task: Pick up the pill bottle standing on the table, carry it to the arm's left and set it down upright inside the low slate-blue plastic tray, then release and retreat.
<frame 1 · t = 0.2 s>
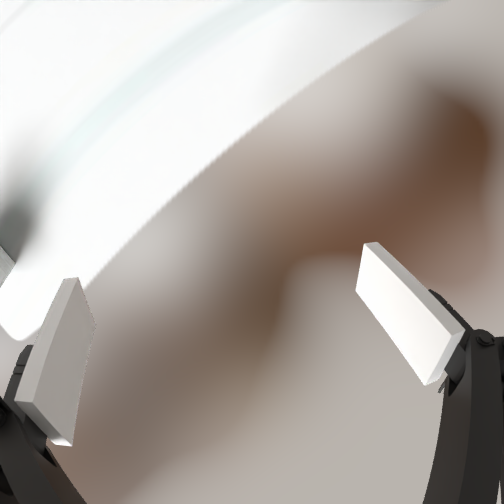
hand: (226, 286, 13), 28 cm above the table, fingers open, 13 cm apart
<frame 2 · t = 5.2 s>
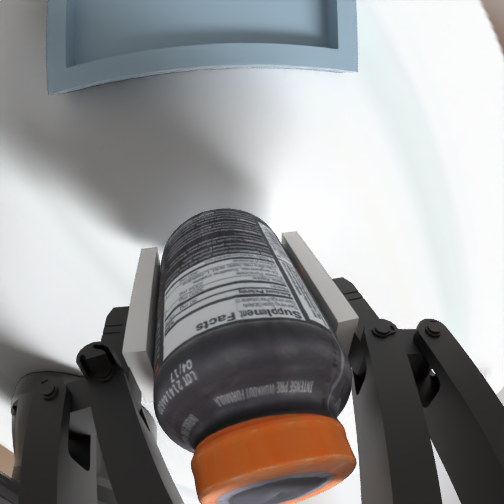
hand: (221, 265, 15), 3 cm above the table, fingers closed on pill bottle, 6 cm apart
pill bottle: (221, 259, 15), point 2 cm above the table, touching gripper
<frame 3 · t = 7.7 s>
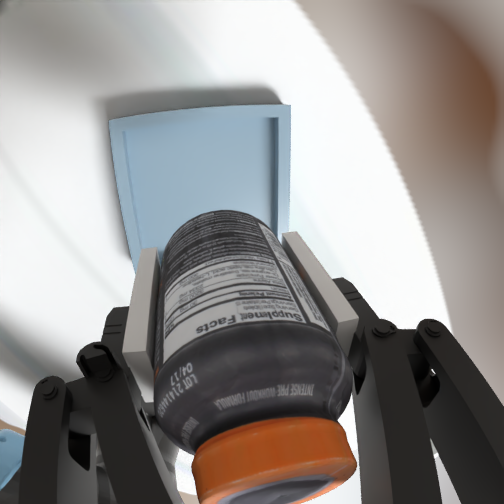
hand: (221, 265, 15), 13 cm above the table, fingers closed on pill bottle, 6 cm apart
tray: (204, 188, 26), on the table
pill bottle: (221, 261, 15), point 12 cm above the table, touching gripper
when the fingers open (2 cm above the table, at t = 10.3 s): pill bottle stays where it is, resting on tray.
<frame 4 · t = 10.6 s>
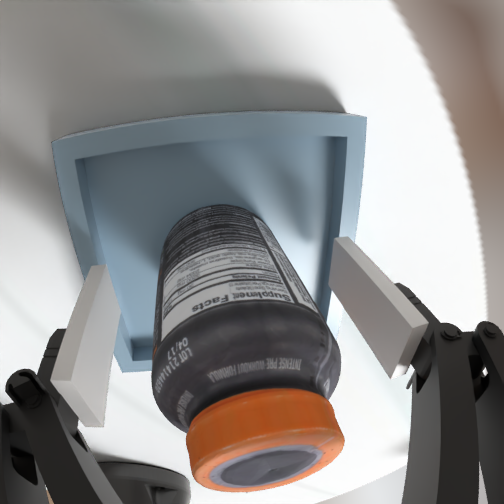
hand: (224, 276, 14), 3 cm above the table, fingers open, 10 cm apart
tray: (217, 246, 17), on the table
pill bottle: (218, 254, 16), point 1 cm above the table, touching tray
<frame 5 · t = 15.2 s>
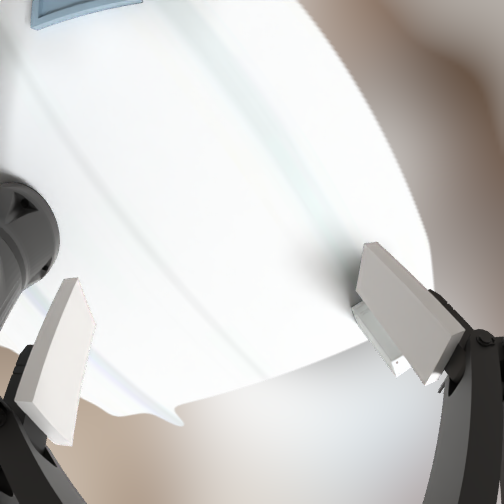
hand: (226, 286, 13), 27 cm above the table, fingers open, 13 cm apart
skincare box: (371, 303, 55), on the table
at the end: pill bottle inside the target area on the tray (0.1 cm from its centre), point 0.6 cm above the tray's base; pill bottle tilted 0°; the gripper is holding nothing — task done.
